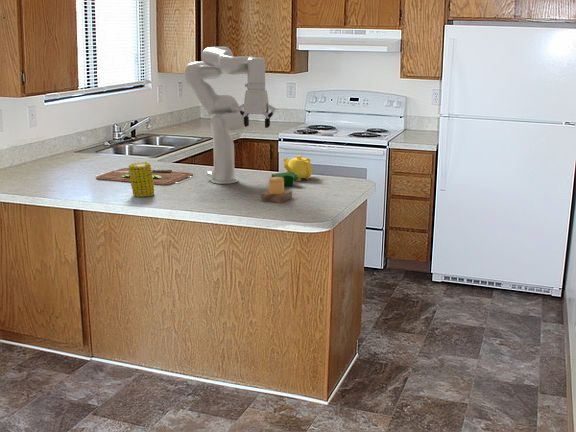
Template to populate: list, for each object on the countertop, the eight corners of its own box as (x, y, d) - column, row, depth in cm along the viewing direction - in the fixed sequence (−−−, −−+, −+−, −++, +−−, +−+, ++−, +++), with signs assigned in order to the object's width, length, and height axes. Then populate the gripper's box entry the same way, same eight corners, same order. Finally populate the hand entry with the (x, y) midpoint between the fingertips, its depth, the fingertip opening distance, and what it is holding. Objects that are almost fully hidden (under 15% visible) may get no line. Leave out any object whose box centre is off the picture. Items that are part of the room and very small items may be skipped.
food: (156, 200, 323) (132, 202, 320) (153, 188, 333) (129, 190, 330) (154, 167, 315) (129, 170, 313) (150, 156, 325) (126, 159, 323)
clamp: (279, 197, 341) (275, 181, 335) (272, 191, 345) (268, 176, 339) (301, 185, 344) (297, 169, 339) (294, 179, 349) (290, 163, 343)
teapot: (283, 175, 365) (283, 152, 362) (311, 175, 365) (311, 153, 362) (283, 182, 351) (283, 158, 348) (312, 182, 351) (312, 158, 348)
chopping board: (88, 180, 357) (88, 173, 357) (120, 169, 382) (119, 163, 381) (172, 187, 342) (172, 180, 341) (199, 176, 366) (199, 170, 366)
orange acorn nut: (267, 193, 315) (266, 179, 314) (272, 190, 321) (272, 176, 319) (280, 194, 313) (280, 180, 312) (285, 191, 319) (285, 177, 317)
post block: (260, 200, 315) (260, 183, 313) (270, 195, 324) (270, 178, 322) (283, 203, 312) (283, 185, 310) (291, 197, 321) (291, 180, 319)
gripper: (234, 87, 322) (235, 127, 326) (271, 88, 316) (271, 129, 320) (241, 85, 328) (242, 124, 333) (278, 86, 322) (278, 126, 327)
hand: (256, 126), depth 326 cm, fingers open, 9 cm apart
